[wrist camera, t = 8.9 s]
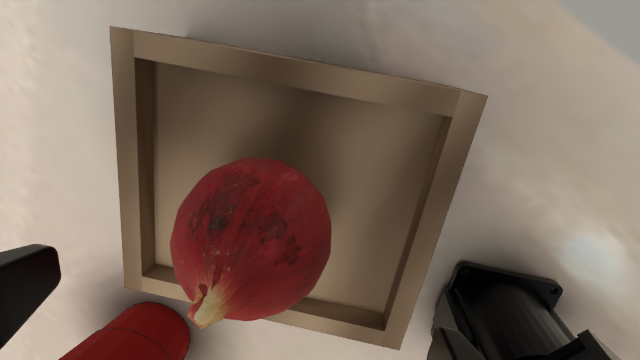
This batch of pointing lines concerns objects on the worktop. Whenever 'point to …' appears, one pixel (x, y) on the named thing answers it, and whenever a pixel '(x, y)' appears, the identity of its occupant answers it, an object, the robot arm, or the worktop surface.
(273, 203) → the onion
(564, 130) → the worktop surface
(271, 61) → the shelf
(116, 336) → the plastic cup
